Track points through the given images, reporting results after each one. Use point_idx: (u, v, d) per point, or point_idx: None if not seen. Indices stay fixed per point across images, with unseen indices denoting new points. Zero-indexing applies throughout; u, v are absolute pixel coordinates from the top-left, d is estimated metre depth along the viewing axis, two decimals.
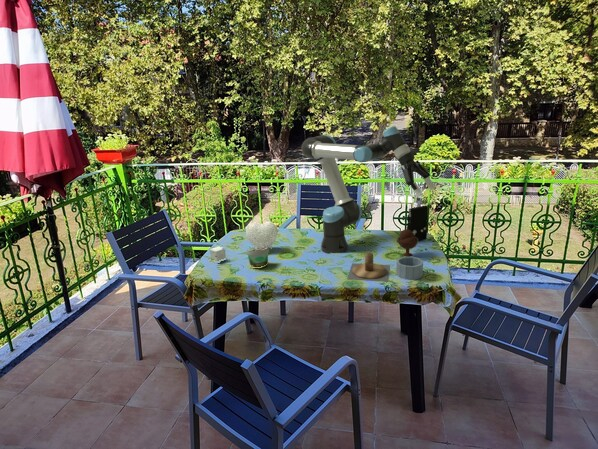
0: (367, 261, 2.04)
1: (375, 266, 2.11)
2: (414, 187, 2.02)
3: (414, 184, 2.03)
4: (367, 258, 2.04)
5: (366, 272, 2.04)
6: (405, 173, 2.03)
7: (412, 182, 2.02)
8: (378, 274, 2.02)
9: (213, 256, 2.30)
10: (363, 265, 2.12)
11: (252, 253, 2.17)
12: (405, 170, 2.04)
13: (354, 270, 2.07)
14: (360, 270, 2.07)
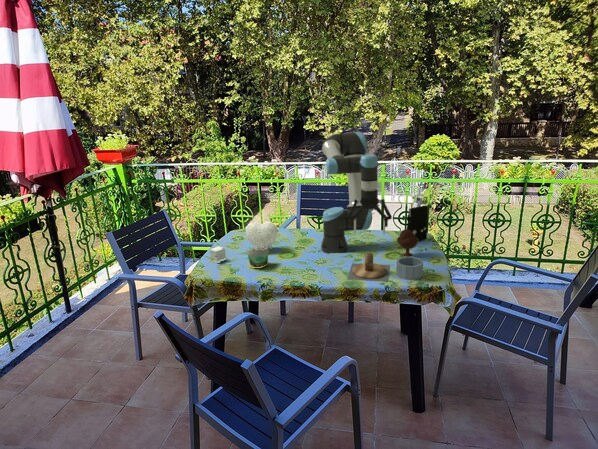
0: (367, 261, 2.04)
1: (375, 266, 2.11)
2: (351, 224, 2.02)
3: (353, 221, 2.01)
4: (367, 258, 2.04)
5: (366, 272, 2.04)
6: (352, 207, 1.99)
7: (351, 219, 2.00)
8: (378, 274, 2.02)
9: (213, 256, 2.30)
10: (363, 265, 2.12)
11: (252, 253, 2.17)
12: (353, 205, 1.98)
13: (354, 270, 2.07)
14: (360, 270, 2.07)
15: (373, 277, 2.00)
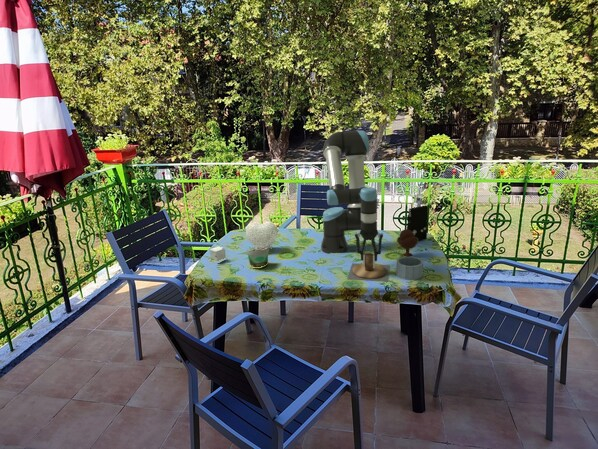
0: (367, 261, 2.04)
1: (375, 266, 2.11)
2: (361, 258, 2.06)
3: (363, 256, 2.05)
4: (367, 258, 2.04)
5: (366, 272, 2.04)
6: None
7: (361, 253, 2.05)
8: (378, 274, 2.02)
9: (213, 256, 2.30)
10: None
11: (252, 253, 2.17)
12: None
13: (354, 270, 2.07)
14: (360, 270, 2.07)
15: (373, 277, 2.00)
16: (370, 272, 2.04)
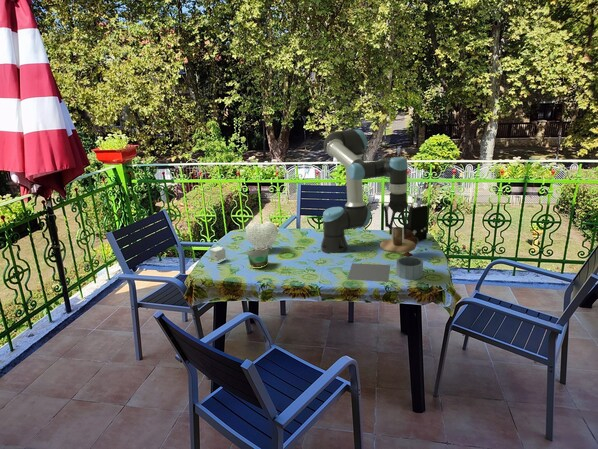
0: (396, 235, 1.96)
1: (404, 241, 2.02)
2: (389, 232, 1.98)
3: (391, 229, 1.97)
4: (396, 232, 1.95)
5: (395, 247, 1.96)
6: (385, 214, 1.96)
7: (389, 227, 1.97)
8: (408, 248, 1.93)
9: (213, 256, 2.30)
10: (391, 240, 2.04)
11: (252, 253, 2.17)
12: None
13: (382, 245, 1.99)
14: (389, 244, 1.99)
15: (403, 251, 1.91)
16: (399, 246, 1.96)
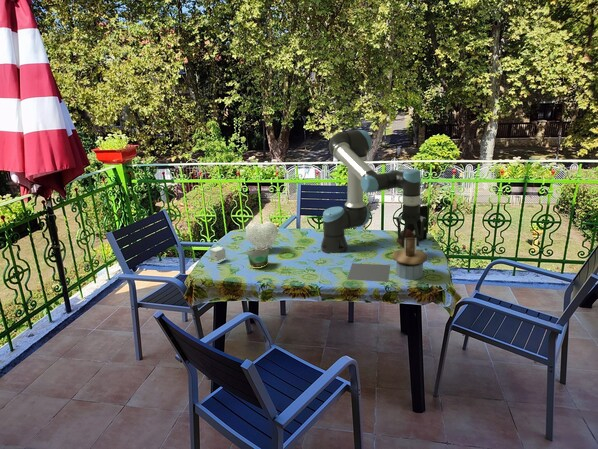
0: (408, 246, 1.97)
1: (416, 251, 2.03)
2: None
3: (404, 241, 1.98)
4: (409, 243, 1.96)
5: (407, 258, 1.97)
6: None
7: (402, 238, 1.97)
8: (421, 259, 1.94)
9: (213, 256, 2.30)
10: (403, 251, 2.05)
11: (252, 253, 2.17)
12: None
13: (394, 256, 2.00)
14: (401, 255, 2.00)
15: (416, 262, 1.92)
16: (412, 257, 1.97)
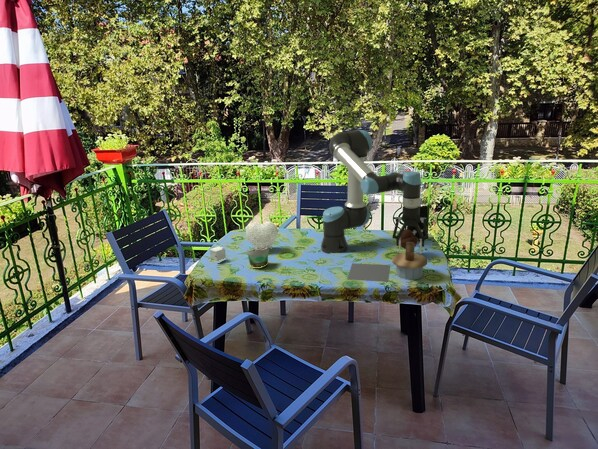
0: (408, 250, 1.97)
1: (415, 255, 2.04)
2: (396, 243, 1.99)
3: (398, 241, 1.98)
4: (408, 247, 1.97)
5: (407, 262, 1.97)
6: (395, 226, 1.97)
7: (396, 238, 1.98)
8: (420, 263, 1.95)
9: (213, 256, 2.30)
10: (402, 255, 2.06)
11: (252, 253, 2.17)
12: None
13: (394, 260, 2.01)
14: (401, 259, 2.00)
15: (415, 266, 1.93)
16: (411, 262, 1.97)
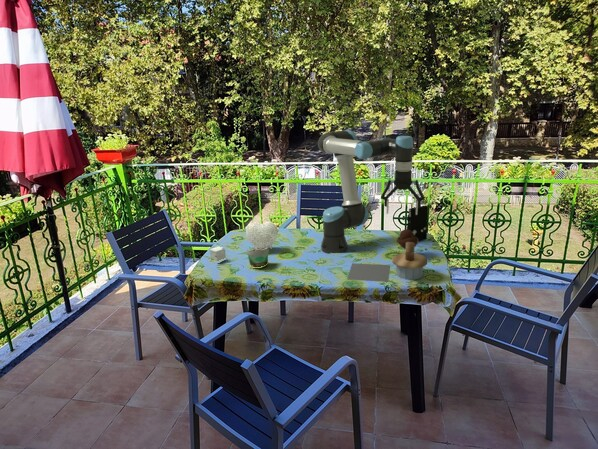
0: (408, 250, 1.97)
1: (415, 255, 2.04)
2: (384, 204, 2.05)
3: (386, 201, 2.04)
4: (408, 247, 1.97)
5: (407, 262, 1.97)
6: None
7: (384, 199, 2.04)
8: (420, 263, 1.95)
9: (213, 256, 2.30)
10: (402, 255, 2.06)
11: (252, 253, 2.17)
12: (387, 185, 2.02)
13: (394, 260, 2.01)
14: (401, 259, 2.00)
15: (415, 266, 1.93)
16: (411, 262, 1.97)
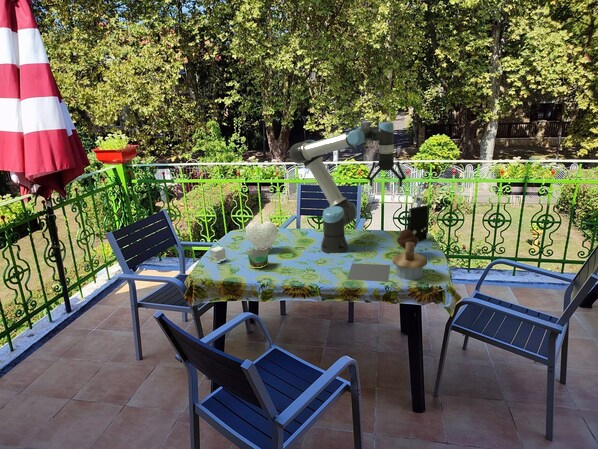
0: (408, 250, 1.97)
1: (415, 255, 2.04)
2: (370, 184, 2.29)
3: (371, 182, 2.28)
4: (408, 247, 1.97)
5: (407, 262, 1.97)
6: None
7: (370, 180, 2.28)
8: (420, 263, 1.95)
9: (213, 256, 2.30)
10: (402, 255, 2.06)
11: (252, 253, 2.17)
12: (372, 167, 2.26)
13: (394, 260, 2.01)
14: (401, 259, 2.00)
15: (415, 266, 1.93)
16: (411, 262, 1.97)
